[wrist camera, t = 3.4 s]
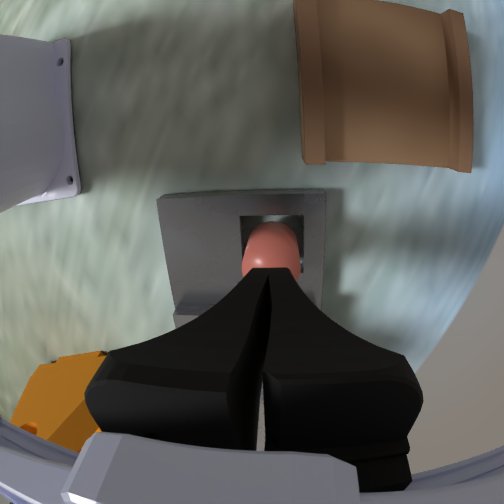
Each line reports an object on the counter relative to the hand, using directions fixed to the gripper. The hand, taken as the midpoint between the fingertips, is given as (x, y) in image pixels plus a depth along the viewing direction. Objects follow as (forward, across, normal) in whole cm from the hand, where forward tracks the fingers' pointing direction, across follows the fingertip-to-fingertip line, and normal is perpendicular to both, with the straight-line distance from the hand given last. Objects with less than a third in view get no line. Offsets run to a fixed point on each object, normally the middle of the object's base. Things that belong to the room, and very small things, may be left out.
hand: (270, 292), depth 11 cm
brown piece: (+5, -5, -8) cm, 11 cm away
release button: (+4, 0, 0) cm, 4 cm away
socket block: (+5, +2, +4) cm, 7 cm away
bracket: (+6, +15, +13) cm, 20 cm away
